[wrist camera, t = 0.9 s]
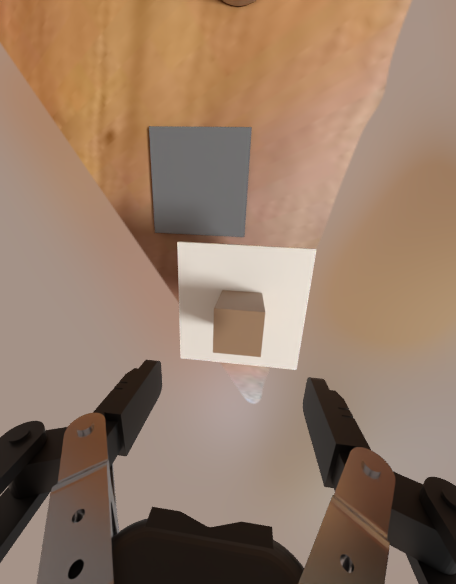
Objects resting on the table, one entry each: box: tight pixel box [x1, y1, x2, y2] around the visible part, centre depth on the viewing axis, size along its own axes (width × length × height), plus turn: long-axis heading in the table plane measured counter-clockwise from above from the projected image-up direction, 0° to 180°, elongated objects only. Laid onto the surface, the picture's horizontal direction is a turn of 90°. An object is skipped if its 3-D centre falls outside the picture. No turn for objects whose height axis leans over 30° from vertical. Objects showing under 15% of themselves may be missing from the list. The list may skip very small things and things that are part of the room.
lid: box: [177, 241, 316, 370], centre depth 20 cm, size 13×13×6 cm
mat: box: [149, 126, 252, 237], centre depth 33 cm, size 15×15×1 cm
